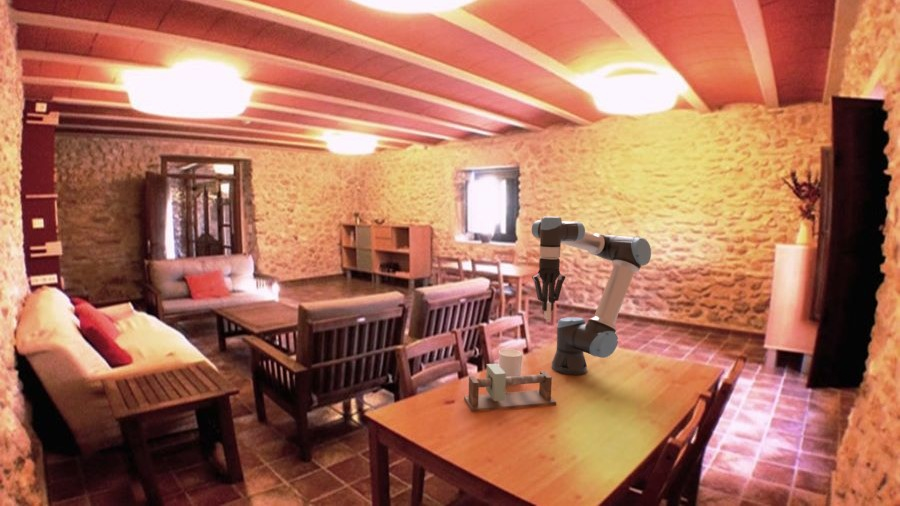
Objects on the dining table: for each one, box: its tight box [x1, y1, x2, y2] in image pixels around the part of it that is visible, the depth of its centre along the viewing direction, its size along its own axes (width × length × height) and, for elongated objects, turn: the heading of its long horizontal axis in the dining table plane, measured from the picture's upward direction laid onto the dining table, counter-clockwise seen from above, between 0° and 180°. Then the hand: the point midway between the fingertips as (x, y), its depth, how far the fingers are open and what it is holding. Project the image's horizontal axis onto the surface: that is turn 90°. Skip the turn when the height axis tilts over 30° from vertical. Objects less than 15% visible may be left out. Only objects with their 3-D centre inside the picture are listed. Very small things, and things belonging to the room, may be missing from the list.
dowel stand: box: [463, 370, 557, 413], centre depth 165 cm, size 32×11×10 cm, turn 103°
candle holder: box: [498, 348, 524, 377], centre depth 185 cm, size 10×10×12 cm
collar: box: [485, 363, 507, 401], centre depth 163 cm, size 4×10×10 cm, turn 13°
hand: (547, 319), depth 170 cm, fingers closed
